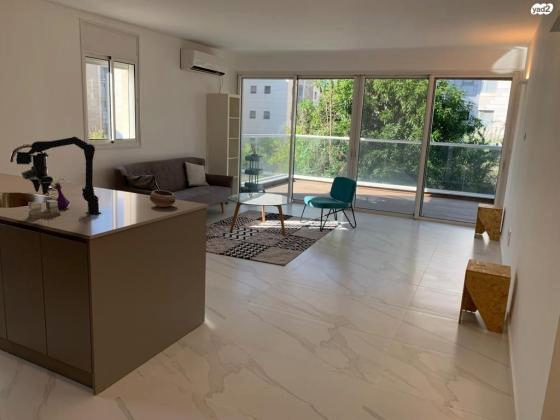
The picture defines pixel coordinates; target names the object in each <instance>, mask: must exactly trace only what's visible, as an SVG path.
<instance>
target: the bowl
mask: <svg viewBox="0 0 560 420" xmlns="http://www.w3.org/2000/svg"><path fill="white" fill-rule="evenodd" d="M149 200H150V201H151V203H152V204H154V206H157V207H159V208H167V207H171V206H173V205H174V204H175V202H176V195H175V194H174V193H173V192H171V191H168V190H163V189H155V190H154V189H153V190H152V192H151V193H150V195H149Z"/></svg>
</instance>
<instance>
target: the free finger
mask: <svg viewBox="0 0 560 420" xmlns="http://www.w3.org/2000/svg"><path fill="white" fill-rule="evenodd" d="M56 200H57V199H48V200H45V208H46V209H45V210H47V209H49V210H50V213H52V212H58V202H57V201H56Z"/></svg>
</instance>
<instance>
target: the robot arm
mask: <svg viewBox="0 0 560 420" xmlns="http://www.w3.org/2000/svg"><path fill="white" fill-rule="evenodd" d="M70 145H75V146H76V147H78V148H79V149H81V150H83V154H84V158H85V186H83V187H82V188H81V190H82V195H81V196H82V197H83V200H85V201H86V202H87V211H85V214H87V215H89V216H92V215H93V216H94V215H100V214H102V212H100V210H99V209H100V208H99V205H100V204H99V201H100V200H99V199H100V198H99V197H98V196H97V195H96V194H95V189H94V188H95V187H94V185H93V181H94V180H93V179H94V176H93V171H94V170H93V169H94V157H95V153H96V147H95V145H94V144H93V143H89V142H86V141H84V140H82V139H80V138H79V137H77V136H72V137H66V138H62V139H61V138H60V139H55V140H37V141H34V142H32V144H31V148H30V149H29V150H28V151H21V150H20V151H17V152H16V158H15V159H16V165H28V166H29V165H31V163H32V166H30V169H27V170H26V171H23V172H21V173H20V174H21V176H22V178H23V179H24V180H28V181H30V182H31V183H32V185H33V187H34V191H35V192H36V193H38V192H39V189H40V186H41V190H42V194H43V195H46V194H47V193H48V190H49V187H50V186H51V184H52V183H53V182H54V177H52V176H50V175H48V174H47V173H46V170H47V168H48V167H47V166H46V159H45V158H48V157H49V154H48V153H47V152H46V151H47V150H49V149H54V148H58V147H59V148H60V147H65V146H70ZM42 152H43V153H42Z"/></svg>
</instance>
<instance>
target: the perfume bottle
mask: <svg viewBox="0 0 560 420" xmlns="http://www.w3.org/2000/svg"><path fill="white" fill-rule="evenodd" d="M60 180H63V183H65V178H59V179H58V180H57V182H55V184H54V186H53V188H54V189H55V190H56V191H57V193H58V195H57V198H56V199H55V200H56V201H57V202H58V209H59V210H66V209H67V208H68V206H69V205H70V203H71V202H70V201H69V199H67V197H65V195H64V194H63V191H62V188H63V187H62V186H61V183H59V181H60Z"/></svg>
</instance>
